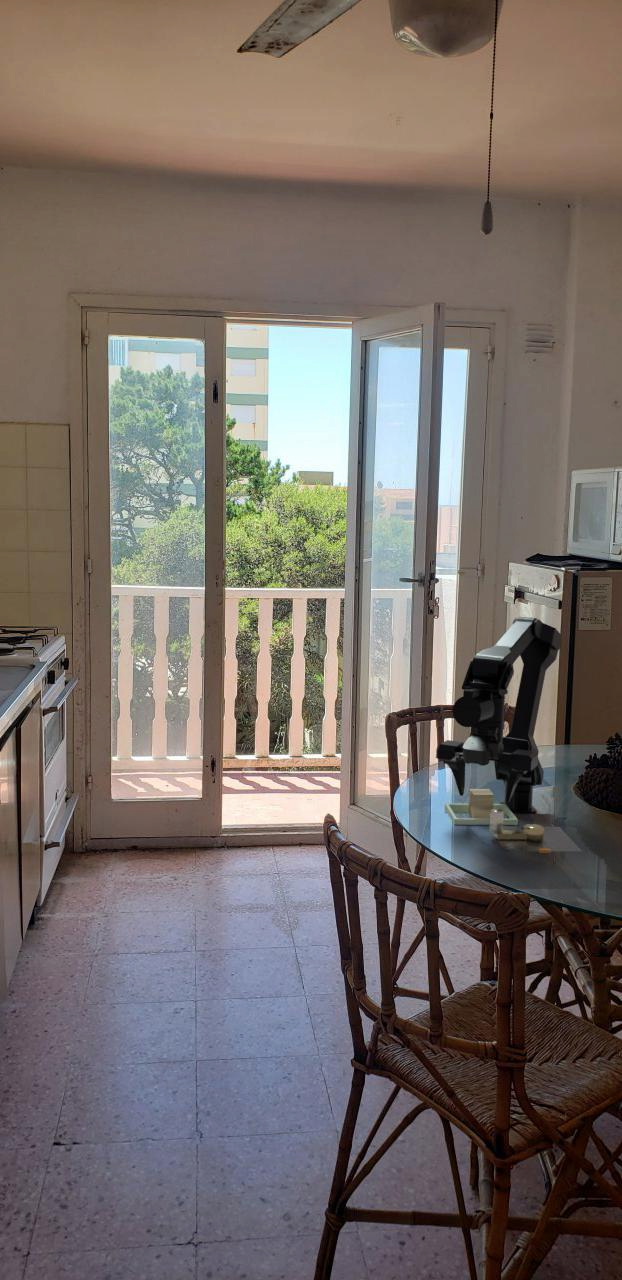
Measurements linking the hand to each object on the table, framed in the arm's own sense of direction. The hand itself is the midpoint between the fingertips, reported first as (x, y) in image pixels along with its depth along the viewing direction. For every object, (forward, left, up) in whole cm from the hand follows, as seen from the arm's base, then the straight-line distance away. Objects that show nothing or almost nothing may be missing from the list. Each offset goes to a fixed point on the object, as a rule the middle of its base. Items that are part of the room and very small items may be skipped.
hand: (484, 798), depth 191 cm
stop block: (-5, 0, -6) cm, 7 cm away
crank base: (+9, +7, -6) cm, 13 cm away
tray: (-5, 0, -6) cm, 8 cm away
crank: (+9, +4, -5) cm, 11 cm away
